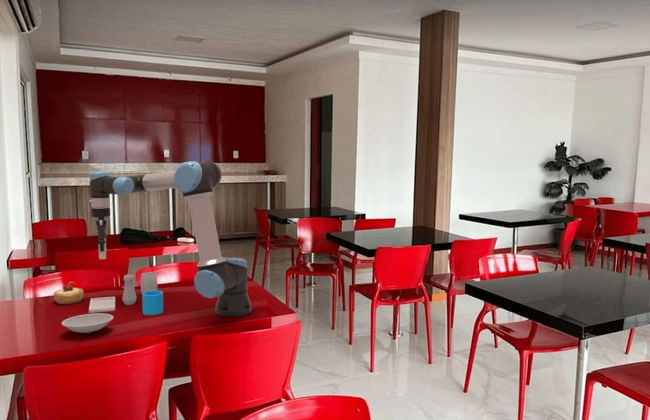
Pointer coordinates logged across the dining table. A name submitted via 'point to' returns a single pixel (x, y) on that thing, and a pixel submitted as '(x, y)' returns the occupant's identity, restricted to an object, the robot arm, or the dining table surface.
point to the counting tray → (102, 304)
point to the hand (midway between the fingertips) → (102, 255)
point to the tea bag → (148, 282)
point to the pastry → (68, 295)
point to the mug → (152, 302)
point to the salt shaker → (129, 290)
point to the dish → (87, 322)
